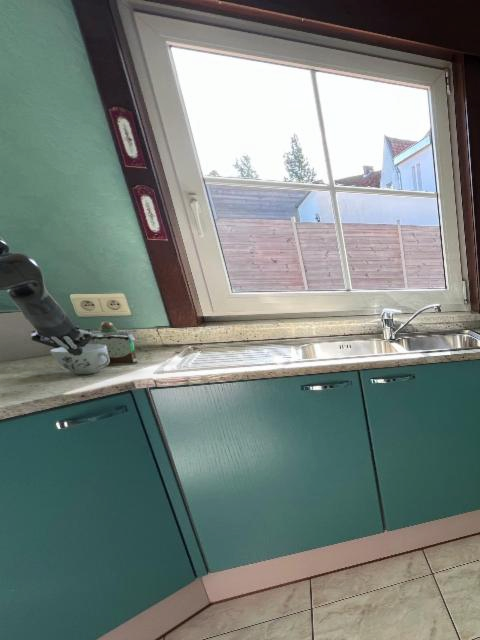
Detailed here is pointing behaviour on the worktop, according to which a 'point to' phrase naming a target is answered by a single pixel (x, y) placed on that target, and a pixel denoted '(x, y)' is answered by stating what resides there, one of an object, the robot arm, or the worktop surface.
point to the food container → (117, 346)
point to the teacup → (83, 359)
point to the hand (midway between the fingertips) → (77, 353)
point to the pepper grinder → (107, 327)
